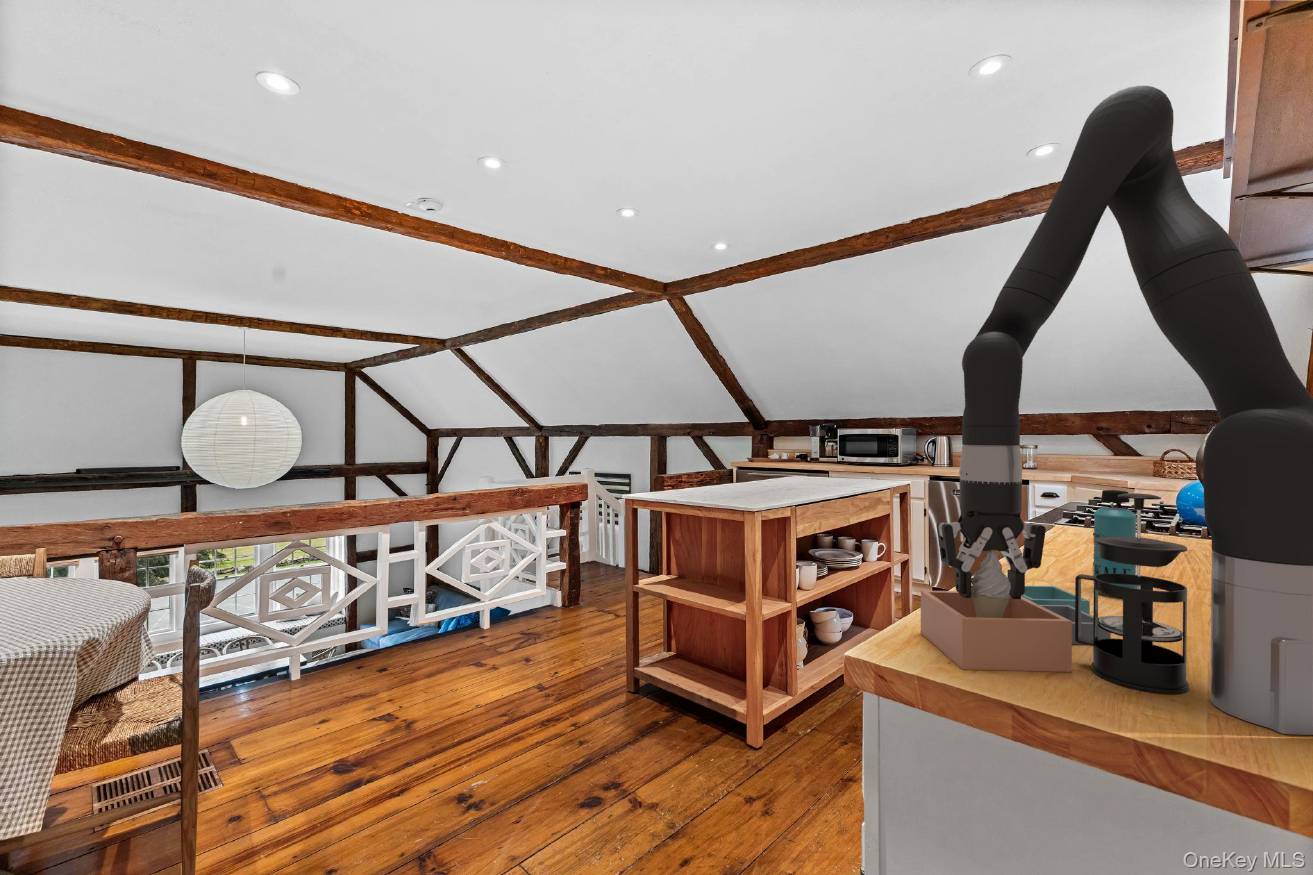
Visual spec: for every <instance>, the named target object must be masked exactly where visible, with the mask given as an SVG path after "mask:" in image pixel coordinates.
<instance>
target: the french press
mask: <svg viewBox="0 0 1313 875" xmlns="http://www.w3.org/2000/svg"><path fill="white" fill-rule="evenodd" d="M1118 497H1122V498H1129V499H1133V507H1134V508H1133V509H1134V510H1136V537H1098V538H1095V539H1094V538H1093V540H1094V541H1093V543H1094V542H1095V543H1097V544H1098V556H1099V557H1100V558H1102V559H1105V560H1109V561H1113V562H1118V563H1123V564H1130V565H1136V575H1131V574H1116V573H1105V574H1097V575H1094V576H1093V575H1090V574H1085V573H1084V574H1081V573H1079V574H1078V575H1076V576H1075V579H1074V580H1075V582H1074V583H1075V585H1074V595H1075V641H1076V642H1078V643H1081V644H1080V645H1087V646H1091V647H1093V648H1092V651H1093V652H1092V662H1091V665H1090V669H1091V671H1092V672H1093V673H1094V675H1096V676H1098V677H1100V678H1101V679H1104V680H1105V681H1107V682H1110V683H1112V684H1116V685H1119V686H1121V687H1124V688H1125V687H1126V688H1128V689H1132V690H1136V691H1142V692H1146V693H1152V694H1153V693H1154V694H1160V695H1161V694H1163V695H1177V694H1183V693H1186V692H1188V691H1189V688H1190V684H1189V682H1188V680H1187V653H1188V652H1187V651H1188V650H1187V647H1188V645H1187V644H1188V643H1187V641H1188V640H1187V638H1188V636H1187V634H1188V633H1187V631H1188V628H1187V627H1188V626H1187V624H1188V623H1187V622H1188V620H1187V619H1188V612H1187V611H1188V588H1187V586H1186V585H1183V584H1182V583H1179V582H1176V581H1172V580H1167V579H1163V578H1159V577H1154V576H1146V575H1141V574H1142V573H1141V571H1142V570H1141V568H1142V567H1148V568H1149V567H1150V568H1162V567H1166V566H1168V565H1170V563H1172V562H1174V560H1175V559H1176V558H1177V557H1178V556H1179V555H1180V554H1181V553H1186V552H1188V547H1187V546H1186V545H1183V544H1179V543H1175V542H1170V541H1165V540H1159V539H1156V538H1155V539H1154V538H1147V537H1146V538H1145V537H1141V536H1142V535H1141V534H1142V533H1141V531H1142V527H1141V526H1142V524H1141V523H1142V511H1144V510H1145V500H1161V499H1162V497H1160V496H1159V495H1154V494H1150V493H1141V492H1140V493H1136V492H1135V493H1131V492H1128V493H1127V494H1120V495H1118ZM1082 580H1086V581H1092V582H1093V609H1092V610H1093V611H1092V613H1093V615H1092V616H1093V640H1090V639H1085V638H1082V637H1081V597H1082ZM1111 583H1114V584H1130V585H1136V589H1134V588H1128V587H1123V586H1118V585H1113V584H1111ZM1154 589H1158V590H1154ZM1099 592H1100V593H1103V594H1107V595H1110V596H1113V597H1119V598H1122V616H1121V615H1120V616H1119V615H1107V616H1099ZM1154 603H1162V604H1165V603H1166V604H1170V603H1171V604H1174V603H1175V604H1177V603H1182V630H1180V629H1179V628H1176V627H1174V626H1171V625H1169V624H1165V623H1162V622H1158V621H1155V620H1154ZM1098 626H1099V627H1100V628H1101V629H1103V630H1105V631H1107V632H1110V633H1111V634H1113V635H1116V636H1120V637H1122V638H1109V639H1099V640H1098ZM1181 641H1182V654H1180V653H1178V652H1176V651H1174V650H1173V649H1169V648H1166V647H1163V646H1161V645H1156V644H1154V643H1164V644H1165V643H1170V644H1171V643H1179V642H1181Z"/></svg>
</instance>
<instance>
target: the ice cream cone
mask: <svg viewBox="0 0 1313 875" xmlns="http://www.w3.org/2000/svg"><path fill="white" fill-rule="evenodd" d="M996 552H997V551H996V550H991V551H987V553H986V555H985V557H984V558H983V560H982V561H981V562H980V568H979V569H978V570H977V571H975V572H973V576H972V577H971V594H972V598H973V602H974V606H975V611H976V615H977V618H1002V617H1003V614H1004V612H1005V609H1006V606H1007V604H1008V601H1009V599H1010V598H1011V596H1010V595H1009V593H1010V589H1011V585H1010V582H1009V579H1008V578H1007V575H1006V574H1005V573H1004V571H1003V565H1002V563H1001V562H1000V560H999V557H998V555H997V553H996Z"/></svg>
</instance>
